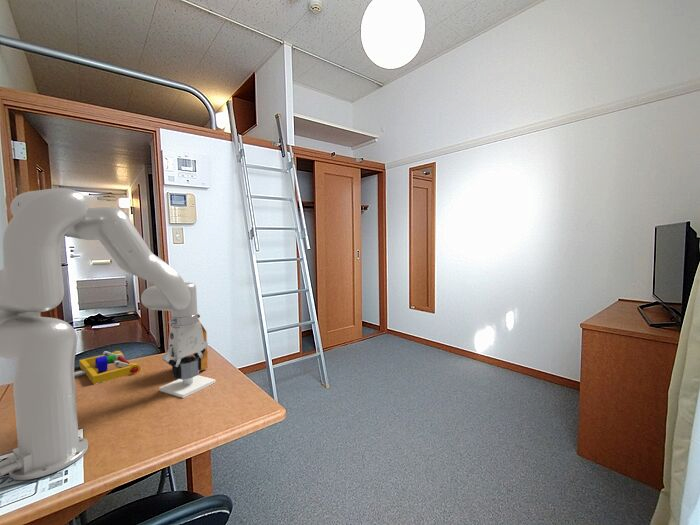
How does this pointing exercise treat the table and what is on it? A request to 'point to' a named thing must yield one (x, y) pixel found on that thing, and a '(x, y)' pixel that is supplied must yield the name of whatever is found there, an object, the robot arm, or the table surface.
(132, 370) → the yellow toy tray
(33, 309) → the robot arm
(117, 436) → the table surface
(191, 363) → the ring
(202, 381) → the stand
